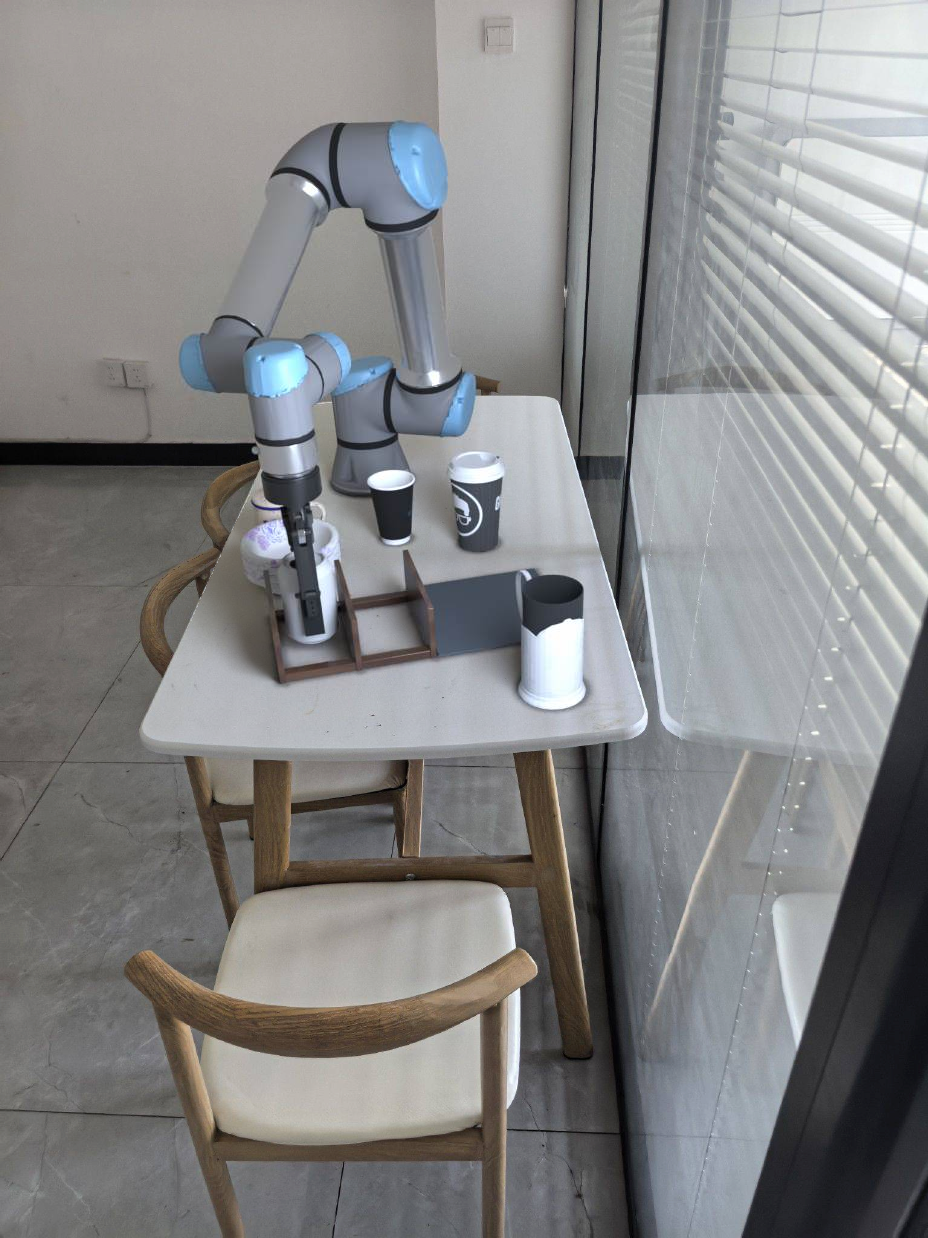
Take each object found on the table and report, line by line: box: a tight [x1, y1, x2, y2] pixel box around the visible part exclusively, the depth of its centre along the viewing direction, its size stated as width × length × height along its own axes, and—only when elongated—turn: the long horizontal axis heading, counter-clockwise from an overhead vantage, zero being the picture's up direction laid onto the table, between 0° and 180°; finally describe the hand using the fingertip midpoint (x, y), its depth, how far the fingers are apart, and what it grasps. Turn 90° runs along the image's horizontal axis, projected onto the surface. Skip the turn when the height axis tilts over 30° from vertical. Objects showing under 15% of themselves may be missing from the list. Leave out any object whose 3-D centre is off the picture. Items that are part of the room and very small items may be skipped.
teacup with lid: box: [250, 487, 327, 526], centre depth 162 cm, size 12×9×12 cm
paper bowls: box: [239, 517, 342, 596], centre depth 151 cm, size 15×15×8 cm
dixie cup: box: [367, 470, 416, 546], centre depth 162 cm, size 8×8×11 cm
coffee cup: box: [446, 449, 507, 553], centre depth 158 cm, size 10×10×15 cm
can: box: [277, 549, 341, 645], centre depth 134 cm, size 8×8×12 cm
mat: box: [423, 567, 540, 658], centre depth 143 cm, size 20×20×1 cm
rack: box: [263, 549, 438, 684], centre depth 136 cm, size 18×21×8 cm
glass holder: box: [516, 569, 587, 711], centre depth 124 cm, size 9×14×15 cm, turn 24°
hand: (312, 618), depth 136 cm, fingers closed on can, 7 cm apart
